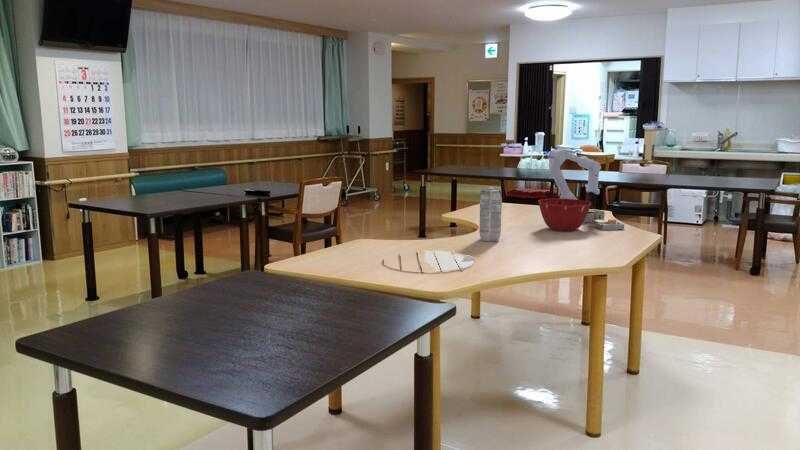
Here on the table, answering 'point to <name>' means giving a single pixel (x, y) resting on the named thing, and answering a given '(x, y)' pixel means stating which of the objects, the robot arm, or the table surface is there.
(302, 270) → the table surface
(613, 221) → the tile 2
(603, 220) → the board
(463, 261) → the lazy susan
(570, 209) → the mixing bowl
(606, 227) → the tray
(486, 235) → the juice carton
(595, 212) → the coffee box
